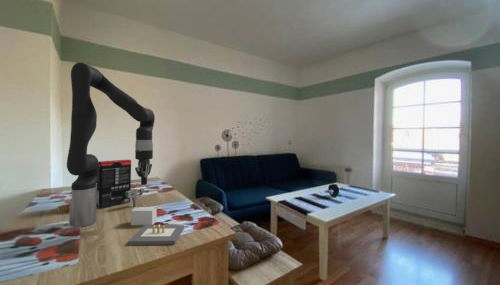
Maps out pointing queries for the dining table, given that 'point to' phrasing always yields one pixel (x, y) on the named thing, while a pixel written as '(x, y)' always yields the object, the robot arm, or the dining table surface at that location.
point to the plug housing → (143, 215)
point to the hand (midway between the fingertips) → (144, 184)
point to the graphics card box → (113, 183)
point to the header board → (157, 235)
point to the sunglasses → (64, 208)
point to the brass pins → (158, 229)
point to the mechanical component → (134, 195)
